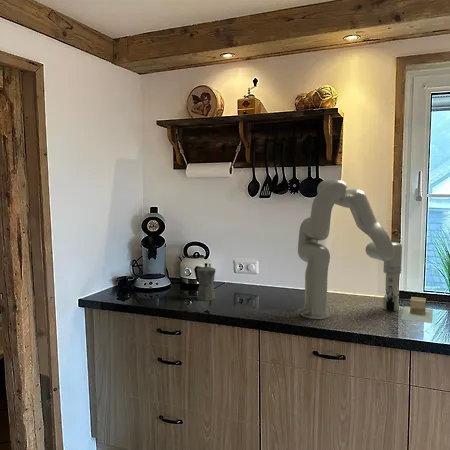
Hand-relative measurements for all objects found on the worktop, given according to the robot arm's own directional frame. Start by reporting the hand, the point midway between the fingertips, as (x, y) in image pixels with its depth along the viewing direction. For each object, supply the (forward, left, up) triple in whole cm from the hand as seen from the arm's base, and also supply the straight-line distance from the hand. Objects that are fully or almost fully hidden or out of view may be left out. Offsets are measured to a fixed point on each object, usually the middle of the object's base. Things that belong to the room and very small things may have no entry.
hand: (390, 307), depth 202 cm
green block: (0, 0, -1) cm, 1 cm away
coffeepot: (-60, +65, -1) cm, 88 cm away
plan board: (+2, -12, -1) cm, 12 cm away
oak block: (+5, -10, 0) cm, 11 cm away
